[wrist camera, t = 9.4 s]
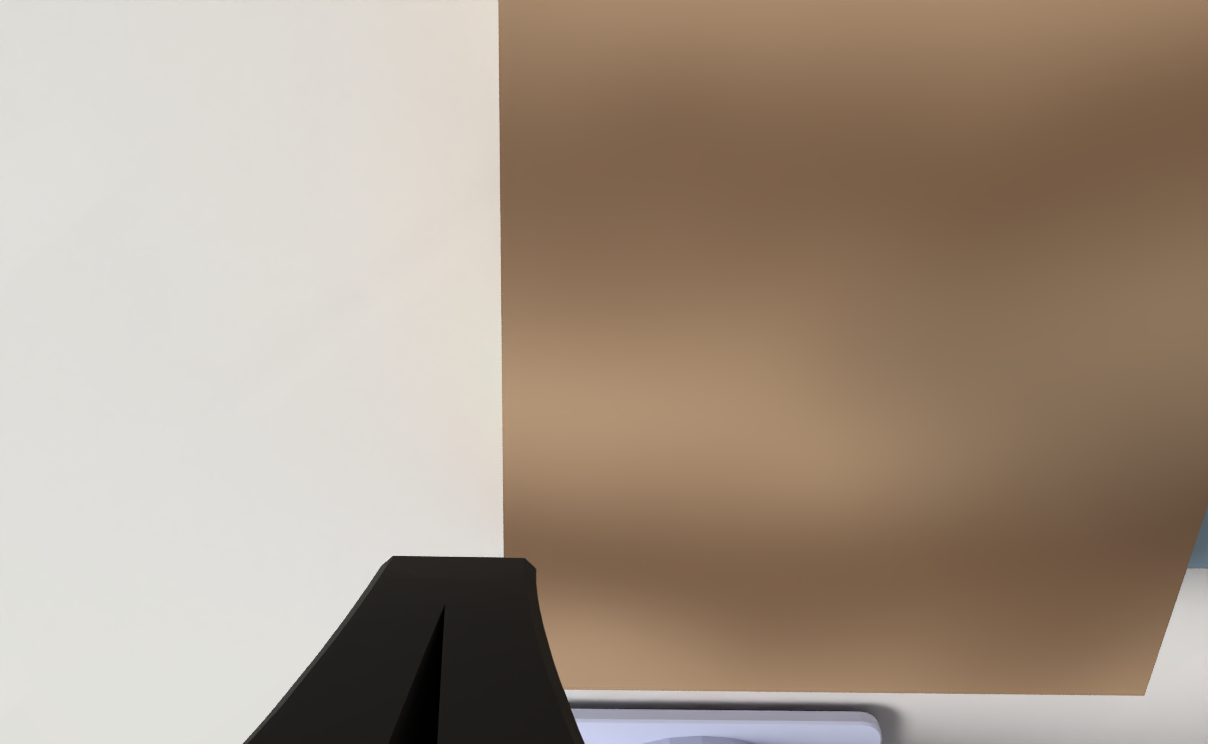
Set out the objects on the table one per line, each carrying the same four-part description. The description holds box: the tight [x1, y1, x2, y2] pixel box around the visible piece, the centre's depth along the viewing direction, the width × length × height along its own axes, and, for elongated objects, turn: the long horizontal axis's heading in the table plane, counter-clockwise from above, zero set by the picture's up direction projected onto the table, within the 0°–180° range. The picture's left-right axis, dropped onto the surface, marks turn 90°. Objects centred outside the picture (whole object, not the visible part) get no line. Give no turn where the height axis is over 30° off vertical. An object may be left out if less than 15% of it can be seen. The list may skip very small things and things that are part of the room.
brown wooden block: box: [498, 0, 1208, 696], centre depth 16 cm, size 18×11×4 cm, turn 178°
